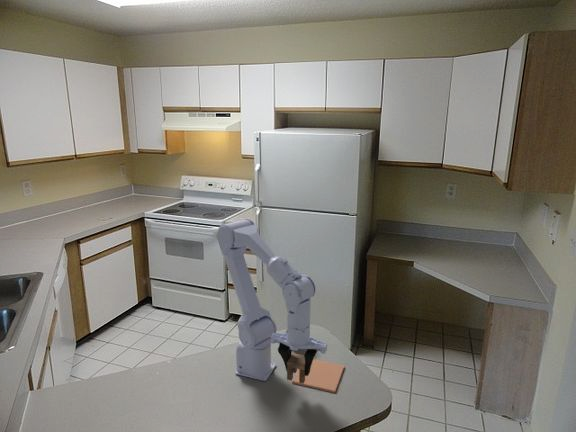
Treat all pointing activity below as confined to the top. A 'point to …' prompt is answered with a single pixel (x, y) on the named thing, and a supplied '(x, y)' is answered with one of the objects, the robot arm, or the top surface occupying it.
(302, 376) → the notched brown block
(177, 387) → the top surface
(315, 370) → the mat
